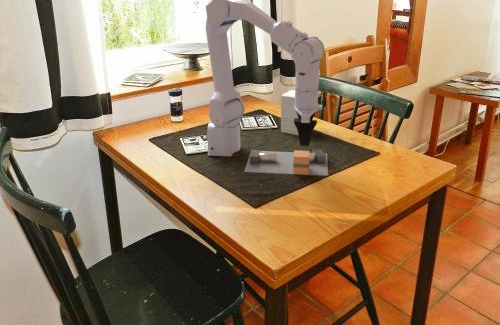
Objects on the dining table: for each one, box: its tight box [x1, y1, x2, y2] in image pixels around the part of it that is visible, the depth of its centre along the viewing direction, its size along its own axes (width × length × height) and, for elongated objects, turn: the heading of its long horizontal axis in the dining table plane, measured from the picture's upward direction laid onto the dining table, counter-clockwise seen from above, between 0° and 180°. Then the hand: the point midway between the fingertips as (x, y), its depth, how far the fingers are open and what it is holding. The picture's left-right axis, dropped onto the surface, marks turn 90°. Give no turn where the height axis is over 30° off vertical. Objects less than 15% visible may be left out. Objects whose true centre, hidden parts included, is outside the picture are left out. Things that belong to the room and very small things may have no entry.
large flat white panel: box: [243, 150, 329, 177], centre depth 125 cm, size 22×14×1 cm, turn 82°
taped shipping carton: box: [292, 149, 311, 176], centre depth 119 cm, size 4×4×5 cm
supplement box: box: [280, 89, 299, 136], centre depth 147 cm, size 7×7×13 cm
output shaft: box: [309, 148, 326, 164], centre depth 125 cm, size 7×4×3 cm, turn 102°
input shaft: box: [249, 149, 277, 164], centre depth 125 cm, size 7×4×3 cm, turn 82°
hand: (304, 139), depth 117 cm, fingers open, 7 cm apart
